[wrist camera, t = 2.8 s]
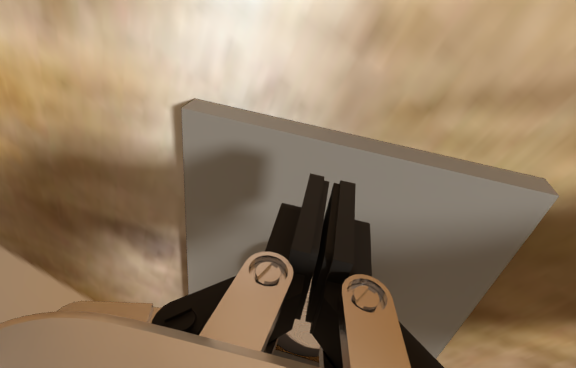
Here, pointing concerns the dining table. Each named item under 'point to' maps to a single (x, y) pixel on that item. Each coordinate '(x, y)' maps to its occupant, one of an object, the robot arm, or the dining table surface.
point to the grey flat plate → (356, 211)
